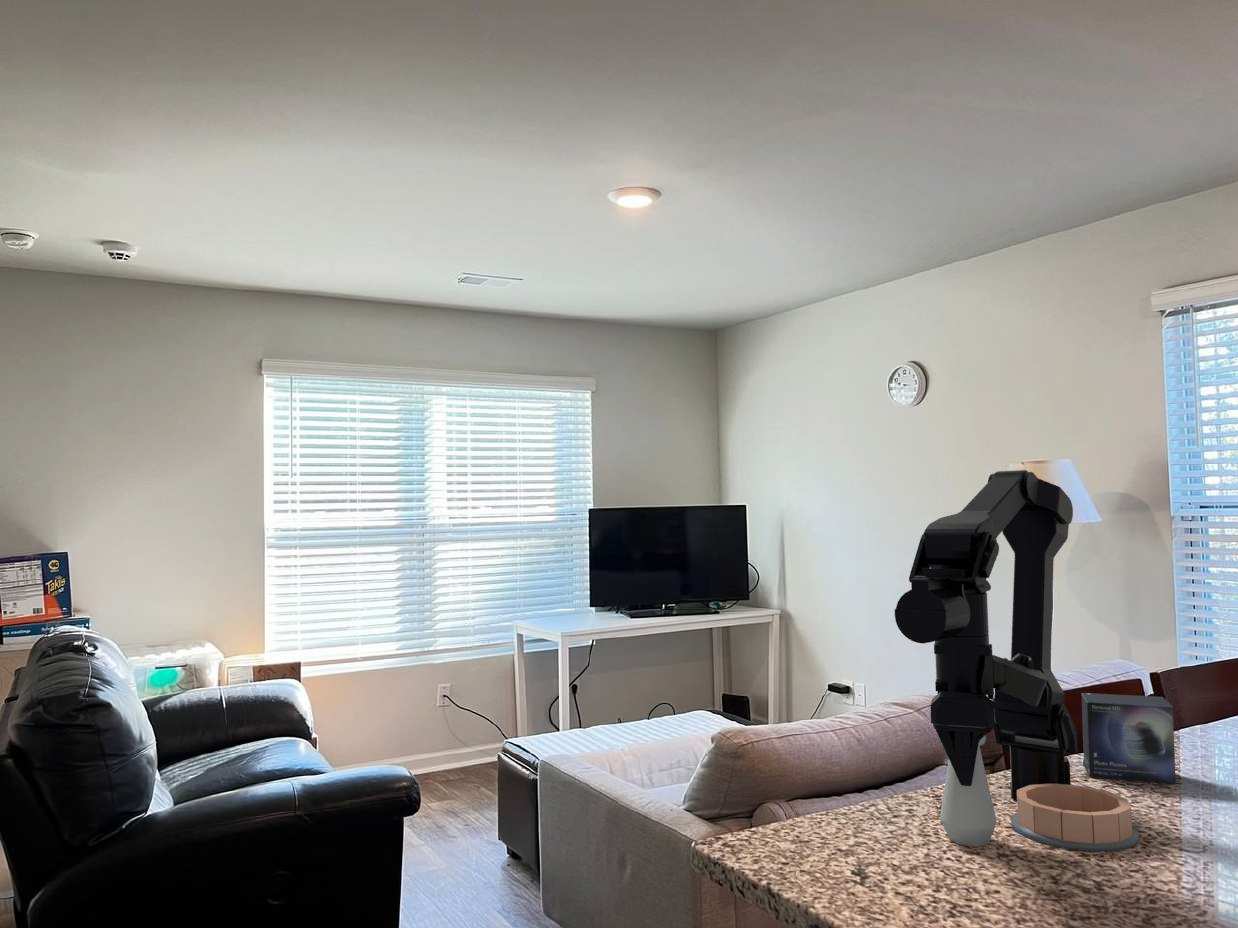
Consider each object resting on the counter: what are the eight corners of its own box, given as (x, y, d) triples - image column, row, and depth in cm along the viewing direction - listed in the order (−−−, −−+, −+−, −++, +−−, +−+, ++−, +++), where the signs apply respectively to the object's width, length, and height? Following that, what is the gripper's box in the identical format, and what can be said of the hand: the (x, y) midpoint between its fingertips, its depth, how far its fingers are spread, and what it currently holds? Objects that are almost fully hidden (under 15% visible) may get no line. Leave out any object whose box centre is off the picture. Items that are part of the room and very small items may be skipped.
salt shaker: (934, 831, 105) (930, 715, 106) (985, 830, 105) (981, 715, 105) (951, 849, 99) (947, 727, 100) (1005, 849, 99) (1000, 726, 100)
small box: (1089, 778, 125) (1085, 700, 125) (1082, 766, 131) (1079, 691, 131) (1178, 785, 121) (1173, 704, 122) (1167, 772, 127) (1163, 695, 128)
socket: (1013, 842, 101) (1011, 809, 101) (1010, 807, 113) (1008, 777, 113) (1148, 857, 96) (1146, 822, 96) (1129, 818, 108) (1128, 787, 108)
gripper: (1045, 647, 91) (1052, 806, 91) (1035, 626, 109) (1041, 759, 108) (927, 643, 96) (933, 796, 95) (936, 623, 113) (941, 752, 112)
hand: (966, 774), depth 102 cm, fingers open, 8 cm apart
